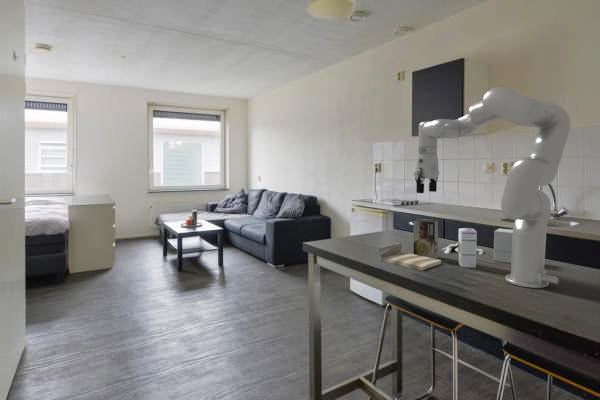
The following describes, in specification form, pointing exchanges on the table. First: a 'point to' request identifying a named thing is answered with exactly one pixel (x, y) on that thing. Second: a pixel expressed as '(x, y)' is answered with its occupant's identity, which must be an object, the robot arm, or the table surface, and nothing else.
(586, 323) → the table surface
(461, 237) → the syrup box
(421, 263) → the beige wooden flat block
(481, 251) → the cloth
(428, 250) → the coffee box
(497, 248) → the supplement box
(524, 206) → the robot arm
